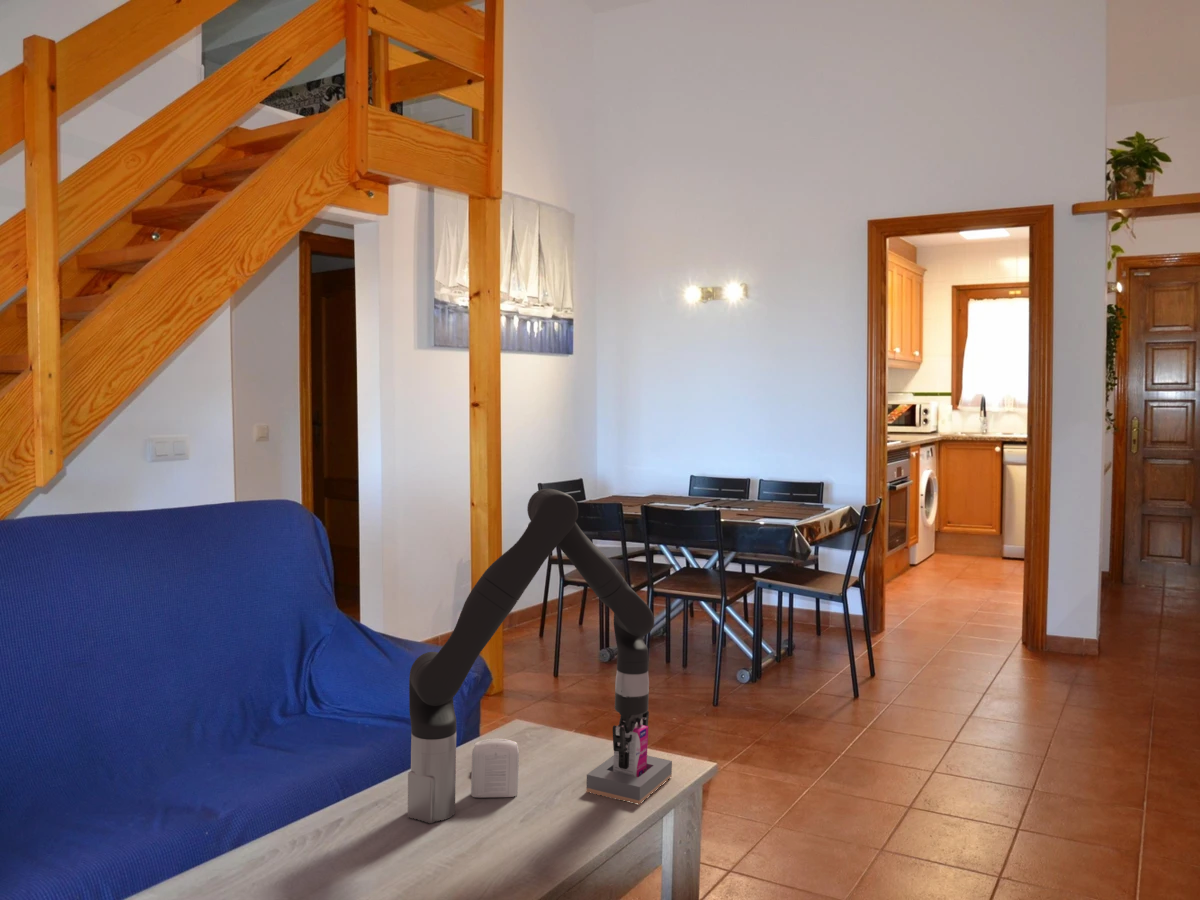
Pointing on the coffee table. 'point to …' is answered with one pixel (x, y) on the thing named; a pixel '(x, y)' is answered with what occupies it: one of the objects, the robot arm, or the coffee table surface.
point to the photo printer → (495, 768)
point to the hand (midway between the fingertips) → (630, 762)
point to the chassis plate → (628, 780)
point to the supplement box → (635, 753)
